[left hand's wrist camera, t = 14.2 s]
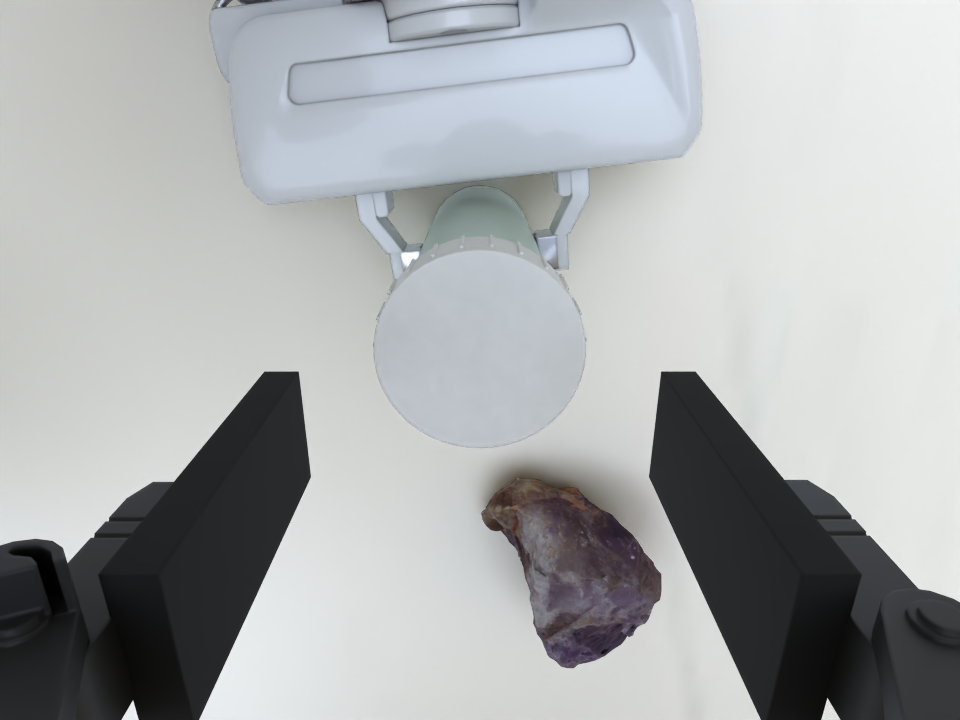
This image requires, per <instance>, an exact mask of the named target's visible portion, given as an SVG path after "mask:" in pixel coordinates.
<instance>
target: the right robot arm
mask: <svg viewBox="0 0 960 720" xmlns="http://www.w3.org/2000/svg"><path fill="white" fill-rule="evenodd" d="M231 1H232V0H216V2H215V4H214V5H213V8H212V11H211V13H210V17H209V27H210V33H211V37H212V41H213V46H214V50H215V54H216V58H217V62H218V65H219V68H220V70H221V73H222V74H223V76H224V78H225V79H226V81H227V82H228V83H229V84H230V99H231V110H232V120H233V128H234V136H235V142H236V149H237V154H238V160H239V165H240V170H241V175H242V179H243V182H244V184H245V186H246V187H247V188H248V189H249V190H250V191H251V192H252V193H253V194H254V195H255V196H256V197H257V198H259V199H260V200H261V201H262V202H263V203H265V204H268V205H274V204H283V203H292V202H300V201H309V200H318V199H326V198H335V197H343V196H352V195H355V198H356V203H357V209H358V214H359V220H360V221H361V223H362V224H363V225H364V226H365V228H366V229H367V230H368V231H369V232H370V234H371V235H372V236H373V237H374V239H375V240H376V241H377V242H378V243H379V245H380V246H381V247H382V248H383V250H384V251H385V252H386V253H387V254H390V259H391V265H392V271H393V277H394V280H395V278H396V279H397V280H398V279H399V277H400V275H401V274H402V273H403V272H404V271H405V270H406V268H407V267H408V266H409V264H410V261H411V260H412V259H413V258H414V259H415V260H416V259H417V258H418V256H419V253H420V251H421V249H422V246H423V243H421V244H410V245H407V243H406V242H405V241H404V239H403V238H402V237H401V235H400V234H399V233H398V231H397V230H396V229H395V227H394V226H393V225H392V223H391V222H390V221H389V219H388V218H387V216H388V215H389V214H390V212H391V211H392V210H393V209H394V201H393V195H392V191H395V190H404V189H413V188H421V187H430V186H439V185H447V184H456V183H465V182H473V181H482V180H491V179H499V178H508V177H517V176H525V175H534V174H543V173H551V172H553V183H554V190H555V191H556V192H557V193H558V194H559V195H560V196H561V197H563V199H562V202H561V204H560V206H559V208H558V210H557V212H556V215H555V217H554V219H553V221H552V223H551V225H550V229H545V230H537V231H533V233H534V239H535V242H536V244H537V247H538V249H539V251H540V254H541V255H543V256H544V257H545V259H546V261H547V263H548V264H549V265H551V267H552V268H553V269H554V270H555V271H559V270H568V268H569V256H568V239H567V234H569V233H570V232H571V230H572V228H573V226H574V224H575V222H576V220H577V218H578V216H579V214H580V212H581V210H582V208H583V206H584V204H585V202H586V200H587V198H588V196H589V172H588V168H595V167H603V166H612V165H621V164H629V163H638V162H647V161H655V160H664V159H672V158H679V157H682V156H683V155H685V153H686V152H687V151H688V150H689V148H690V147H691V146H692V144H693V143H694V141H695V140H696V138H697V137H698V135H699V133H700V130H701V125H702V79H701V64H700V52H699V42H698V34H697V26H696V19H695V13H694V8H693V5H692V1H691V0H277V1H272V0H238V1H239V2H240V3H241V4H246V5H238V6H231V7H226V6H227V5H228V4H229V2H231ZM346 3H347V4H346Z"/></svg>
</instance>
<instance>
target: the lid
mask: <svg viewBox="0 0 960 720" xmlns="http://www.w3.org/2000/svg"><path fill="white" fill-rule="evenodd" d="M568 290H569V288H568V286H567V284H566V282H565V280H564V278H563V276H562V274H561V275H558V274H557V272H556V271H555V270H554V269H553V268H552V267H551V265H549V264H548V263H547V261H546V259H545V257H544V256H543V255H541V256H539V255H537V254H536V253H534V252H533V251H531V250H530V249H528V248H526V247H524V246H522V245H521V242H519V241H517V243H514V242H511V241H508V240H505V239H500V238H495V237H493V235H490V236H489V237H482V236H477V237H465V235H462V236H461V238H460V239H455V240H451V241H448V242H445V243H443V244H440V245H438V244H437V243H436V244H434V247H433V248H432V249H430V250H428V251H427V252H425V253H424V254H422V255H421V256H419V257H418V258H417V259H416V260H415V259H414V258H413V259H412V260H411V261H410V264H409V266H408V267H407V268H406V270H405V271H404V272H403V273H402V274H401V275H400V277H399V279H398V280H397V279H396V278H395V280H394V281H393V283H392V285H391V287H390V289H389V291H388V293H387V294H388V295H389V297H388V299H387V301H386V303H385V302H384V304H383V306H382V308H381V310H380V312H379V314H378V316H377V319H376V320H378V323H377V326H376V330H375V337H374V343H373V347H374V360H375V367H376V371H377V375H378V378H379V381H380V383H381V386H382V388H383V390H384V392H385V394H386V396H387V397H388V399H389V401H390V402H391V404H392V405H393V406H394V407H395V409H396V410H397V411H398V412H399V414H400V415H401V416H403V417H404V418H405V419H406V420H407V421H408V422H409V423H410V424H412V425H413V426H414V427H416V428H417V429H418V430H420V431H422V432H423V433H425V434H427V435H428V436H430V437H433V438H435V439H437V440H440V441H442V442H446V443H449V444H452V445H457V446H463V447H471V448H488V447H497V446H503V445H507V444H511V443H514V442H517V441H520V440H522V439H525V438H527V437H529V436H531V435H533V434H535V433H536V432H538V431H540V430H541V429H543V428H544V427H545V426H547V425H548V424H549V423H551V422H552V421H553V420H554V419H555V418H556V417H557V416H558V415H559V414H560V413H561V412H562V411H563V409H564V408H565V407H566V406H567V404H568V403H569V402H570V400H571V398H572V397H573V395H574V393H575V392H576V389H577V387H578V385H579V382H580V380H581V377H582V373H583V369H584V364H585V357H586V337H585V334H584V328H583V325H582V321H581V318H580V315H582V314H581V311H580V309H579V307H578V305H577V303H576V301H575V299H574V298H571V296H570V294H569V292H568Z"/></svg>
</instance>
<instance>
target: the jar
mask: <svg viewBox="0 0 960 720" xmlns="http://www.w3.org/2000/svg"><path fill="white" fill-rule="evenodd" d="M462 235H465V237H477V236H482V237H489V236H490V235H493V237H495V238H500V239H505V240H508V241H511V242H514V243H517V241H519V242H521V245H522V246H524V247H526V248H528V249H530V250H531V251H533V252H534V253H536V254H537V255H539V256H541V254H540V251H539V249H538V247H537V244H536V242H535V239H534V237H533V234H532V232H531V230H530V227H529V225H528V222H527V220H526V218H525V215H524V213H523V211H522V209H521V208H520V206H519V205H518V204H517V202H516V201H515V200H514V199H513V198H512V197H510V196H509V195H508V194H506V193H505V192H503V191H501V190H499V189H496V188H493V187H489V186H471V187H467V188H464V189H461V190H459V191H457V192H455V193H454V194H452V195H451V196H450V197H448V198H447V199H446V200H445V201H444V203H443V204H442V205H441V206H440V208H439V210H438V211H437V213H436V216H435V218H434V220H433V223H432V225H431V227H430V230H429V232H428V234H427V237H426V239H425V242H424V244H423V246H422V249H421V251H420V253H419V256H421V255H422V254H424V253H425V252H427V251H428V250H430V249H432V248H433V247H434V244H436V243H437V244H438V245H440V244H443V243H445V242H448V241H451V240H455V239H460V238H461V236H462ZM419 256H418V257H419Z"/></svg>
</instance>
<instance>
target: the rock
mask: <svg viewBox="0 0 960 720" xmlns="http://www.w3.org/2000/svg"><path fill="white" fill-rule="evenodd" d="M481 515H482V517H483V518H482V519H483V521H484V523H485V524H486V526H487V527H488V528H489V529H490V530H493V531H502V532H503V533H504V535H505V536H506V537H507V538H508V540H509V542H510V543H511V544H512V545H513V546H514V547H515V548H516V549H517V551H518V556H519V557H520V558H521V562H522V565H523V567H524V573H525V578H526V581H527V583H528V586H529V589H530V602H531V606H532V610H533V615H534V621H533V624H534V626H535V628H536V631H537V634H538V636H539V637H540V638H541V640H542V642H543V645H544V647H545V649H546V652H547V655H548V656H549V657H550V658H552V659H554V660H555V661H556V662H557V663H558V664H559V665H560V666H561V667H565V668H574V667H576V666H577V665H578V664H582V663H587V662H591V661H594V660H597V659H599V658H601V657H603V656H605V655H606V654H608V653H609V652H610V651H612V650H613V649H614V648H616V647H618V646H619V645H621V644H622V643H623V641H624V640H625V639H626V637H627V636H628V637H630V636H632V635H633V634H634V631H635V630H636V628H637V627H638V626H640V625H642V624H645V623H646V621H647V620H648V619H649V616H650V614H651V610H652V608H653V606H654V604H655V603H656V602H658V601H659V600H660V596H661V574H660V572H659V571H658V570H657V569H656V567H655V566H654V563H653V562H652V560H651V559H650V558H649V557H648V556H647V555H646V554H645V553H644V551H643V549H642V548H641V546H640V545H639V543H638V541H637V540H636V539H635V538H634V536H633V535H632V534H631V533H630V532H629V531H628V530H626V529H625V528H624V527H623V526H621V525H620V523H619V522H618V521H617V520H616V519H615V518H614V517H613V516H612V515H611V514H609V513H607V512H605V511H602V510H600V509H599V508H598V507H597V506H595V505H593V504H592V503H591V502H589V501H588V500H587V498H585V497H584V496H583V495H582V494H581V493H580V491H579V490H578V488H560V489H556V488H553V487H551V486H549V485H547V484H545V483H544V482H542V481H541V480H536V479H523V478H518V477H517V478H516V480H515V481H514V482H512V483H511V484H510V485H509V486H507V487H505V488H503V489H501V490H500V491H498V492H497V493H496V494H495V495H494V496H493V497H492V499H491V500H490V502H489V504H488V506H487V507H486V509H485V510H483V511H482V513H481Z"/></svg>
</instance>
